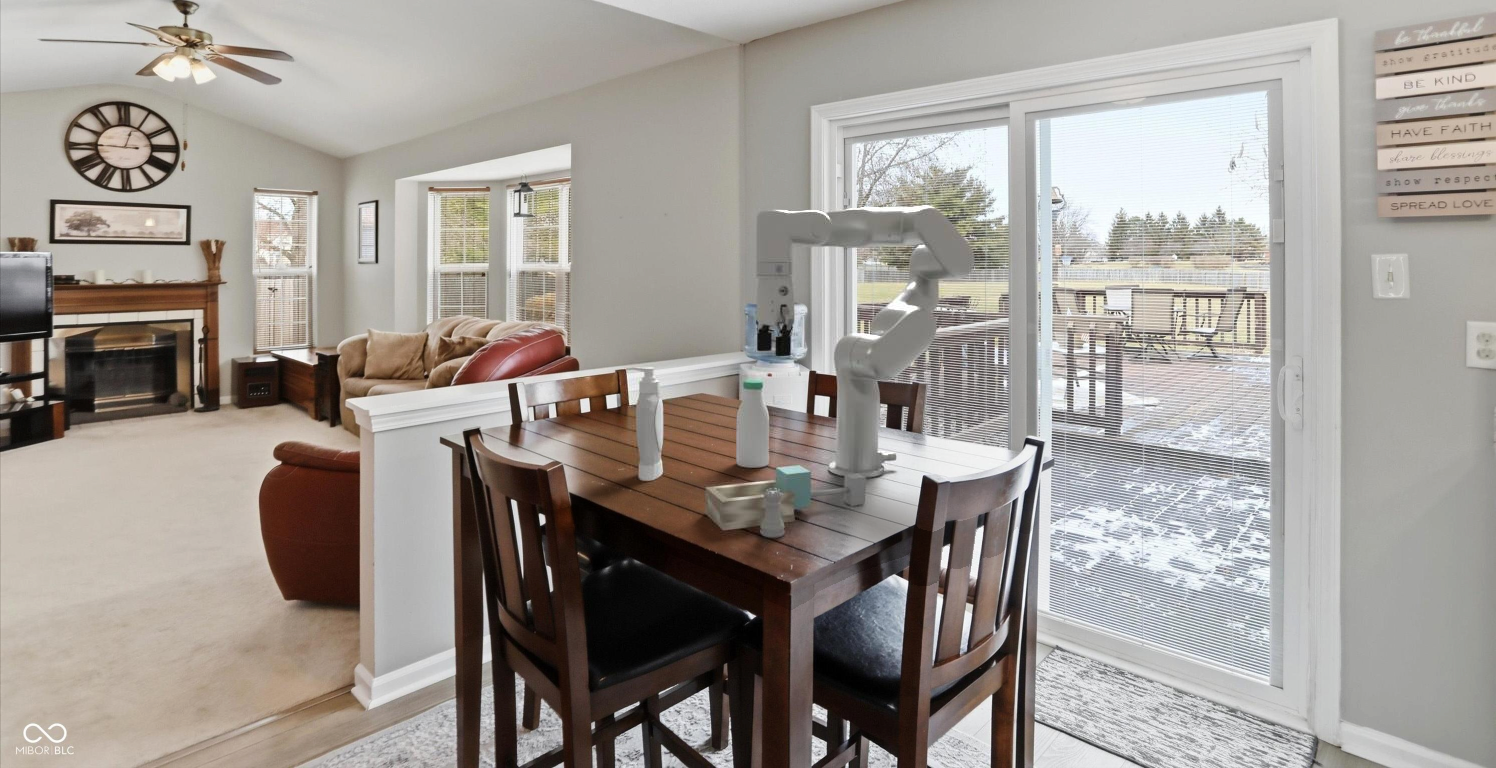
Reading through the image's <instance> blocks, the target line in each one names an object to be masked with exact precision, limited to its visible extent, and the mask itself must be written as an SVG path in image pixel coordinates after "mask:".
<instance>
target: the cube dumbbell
mask: <svg viewBox="0 0 1496 768" xmlns="http://www.w3.org/2000/svg"><path fill="white" fill-rule="evenodd" d="M866 478H867V477H864V476H862V475H860V474H858V473H856V474H847V475H845V476H844V484H843V485H844V487H840V488H839V487H838V488H832V489H831V488H830V489H822V490H814V491H813V490H812V489H811V487H812V485H811V484H812V483H811V482H812V471H810V470H809V469H807V468H805V467H803V466H802V465H800V464H799V465H797V464H796V465H788V466H779V467H775V481H776V488H777V489H779V490H780V493H781V492H789V491H791V492H793V493H794V511H795V510H801V509H802V510H803V509H809V508H811V498H813V497H815V498H816V497H823V496H831V495H838V494H843V495H844V497H843V502H845V503H846V504H847V505H849V506H851V507H853V506H854V507H855V506H861V505H866V484H867V483H866Z"/></svg>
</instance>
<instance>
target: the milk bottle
mask: <svg viewBox="0 0 1496 768" xmlns="http://www.w3.org/2000/svg"><path fill="white" fill-rule="evenodd" d="M742 384H743V385H742V387H743V391H744V392H743V398H742V400H741V403H740V405H739V408H738V409H737V414H736V436H735V437H736V456H735V459H736V464H737V465H738V466H739V467H741V468H742V467H743V468H749V469H753V468H757V469H759V468H763V467H767V466H768V465H769V463H770V415H769V410H768V408H767V405H766V403H765V400H764V397H763V387H764V381H762V380H759V379H747V380H744V381H743V383H742Z"/></svg>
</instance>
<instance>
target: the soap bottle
mask: <svg viewBox="0 0 1496 768" xmlns="http://www.w3.org/2000/svg"><path fill="white" fill-rule="evenodd" d="M625 369H626V371H632V370H634V371H637V372H638V371H639V372H642V373H643V374H644V376H642V377H641V379H642V380H639V381H638V383H639V384H638V385H639V386H638V387H639V391H638V392H639V394H638V398H637V402H636V405H635V407H636V408H635V429H636V430H635V431H636V432H635V433H636V442H637V449H638V455H639V463H638V475H637V476H638V479H639V480H640V481H642V482H651V481H654V480H657V479H658V478H660V477H661V476H663V473H664V470H663V461H662V460H663V459H662V458H661V457H662V449H663V443H664V441H663V440H664V404H663V399H662V398H661V394H660V393H661V392H660V380H659V379H657V376H655V374H654V373H655V370H654V369H656V368H655V367H652V366H649V367H648V366H647V367H638V366H631V367H626V368H625Z"/></svg>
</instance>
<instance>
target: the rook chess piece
mask: <svg viewBox="0 0 1496 768" xmlns="http://www.w3.org/2000/svg"><path fill="white" fill-rule="evenodd" d="M764 497H765V499H766V502H765V505H766V511H765V517H764V519H763V522H762V523H761V525H760V526H759V527H760V530H759V533H760V534H761V536H763V537H765V538H769V539H778V538H781V537H783V536H784V534H785V533H786V530H785V524H784V523H785V522H782V520H781V517H780V510H779V508H780V505H781V503H780V502H779V500H780V498H781V497H782V494H781V493H780V490H779V489H777V488H774V491H772V488H769V491H768V489H766V493H765V494H764Z"/></svg>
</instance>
